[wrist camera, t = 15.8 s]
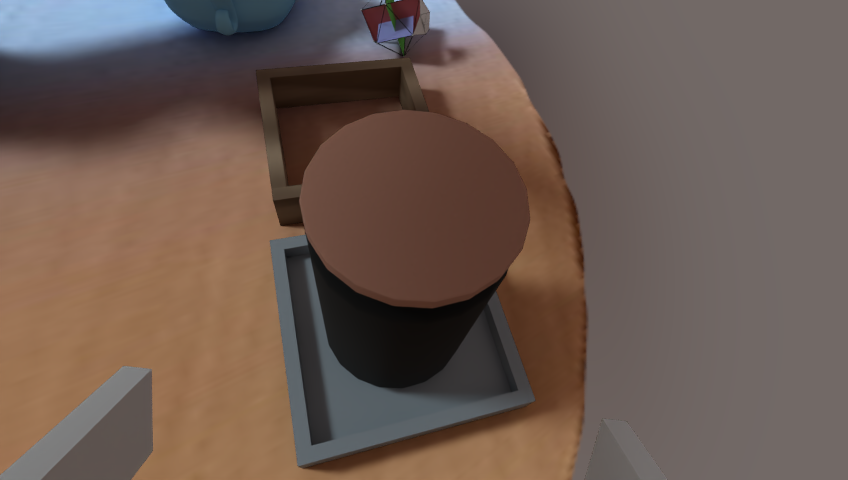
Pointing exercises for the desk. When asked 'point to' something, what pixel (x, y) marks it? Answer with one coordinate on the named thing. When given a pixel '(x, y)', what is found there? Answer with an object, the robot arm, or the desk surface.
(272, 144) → the walnut collar
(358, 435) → the grey tray
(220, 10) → the decorative pot
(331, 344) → the coffee jar
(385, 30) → the geometric puzzle
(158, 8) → the desk surface
